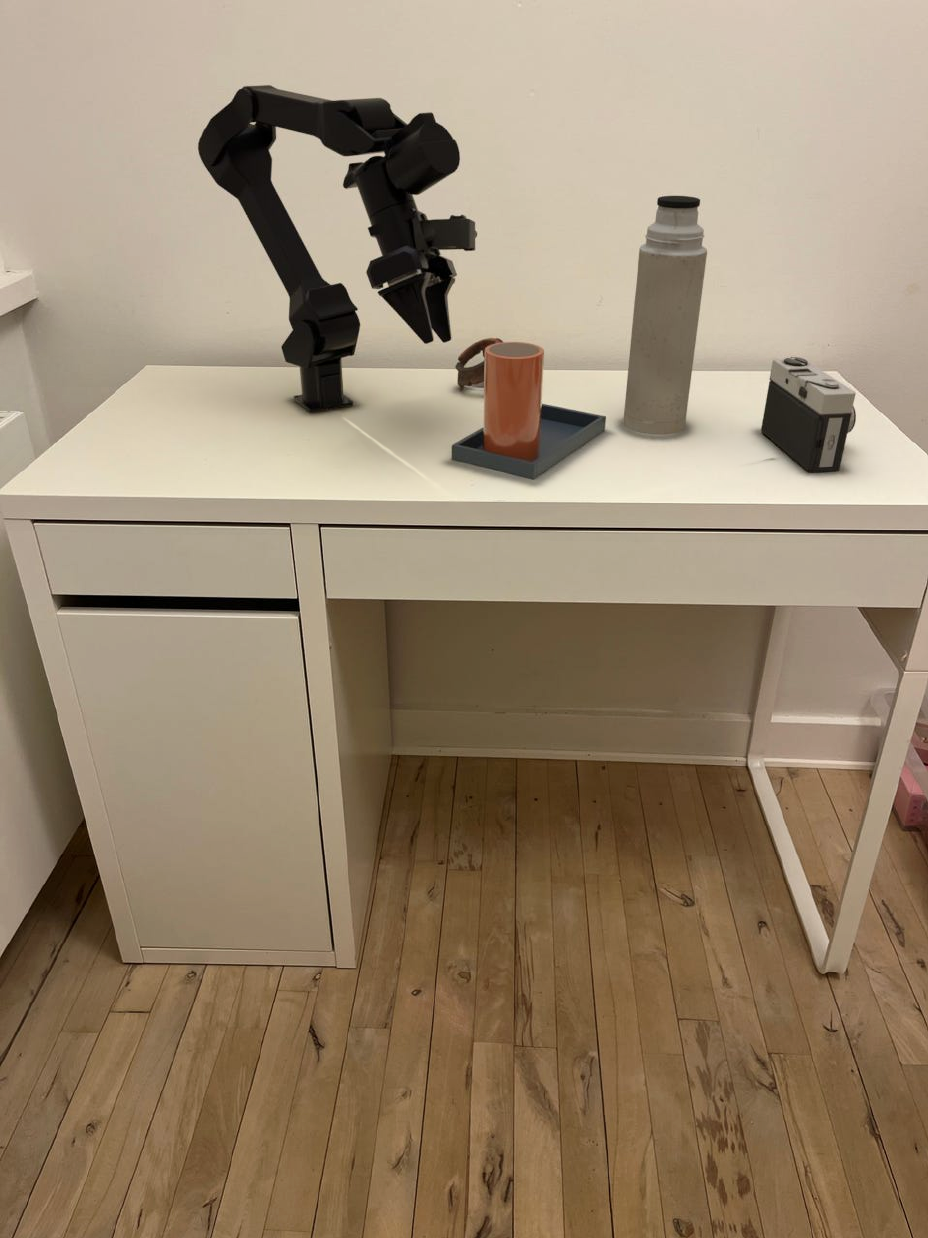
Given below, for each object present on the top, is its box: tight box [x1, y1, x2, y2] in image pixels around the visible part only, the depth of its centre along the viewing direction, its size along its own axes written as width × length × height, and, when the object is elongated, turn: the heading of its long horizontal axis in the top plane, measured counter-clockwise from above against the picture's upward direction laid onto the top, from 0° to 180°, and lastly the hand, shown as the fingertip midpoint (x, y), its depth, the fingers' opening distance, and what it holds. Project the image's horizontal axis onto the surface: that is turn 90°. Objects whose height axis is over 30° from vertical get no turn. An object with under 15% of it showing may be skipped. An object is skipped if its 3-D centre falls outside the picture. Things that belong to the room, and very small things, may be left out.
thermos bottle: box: [622, 195, 708, 436], centre depth 121 cm, size 8×8×28 cm
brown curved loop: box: [454, 337, 504, 390], centre depth 141 cm, size 12×10×8 cm
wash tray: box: [451, 403, 607, 480], centre depth 121 cm, size 19×11×2 cm, turn 148°
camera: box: [760, 356, 857, 473], centre depth 119 cm, size 14×8×10 cm, turn 9°
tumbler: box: [482, 341, 545, 462], centre depth 115 cm, size 7×7×13 cm
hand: (438, 341), depth 117 cm, fingers open, 9 cm apart
